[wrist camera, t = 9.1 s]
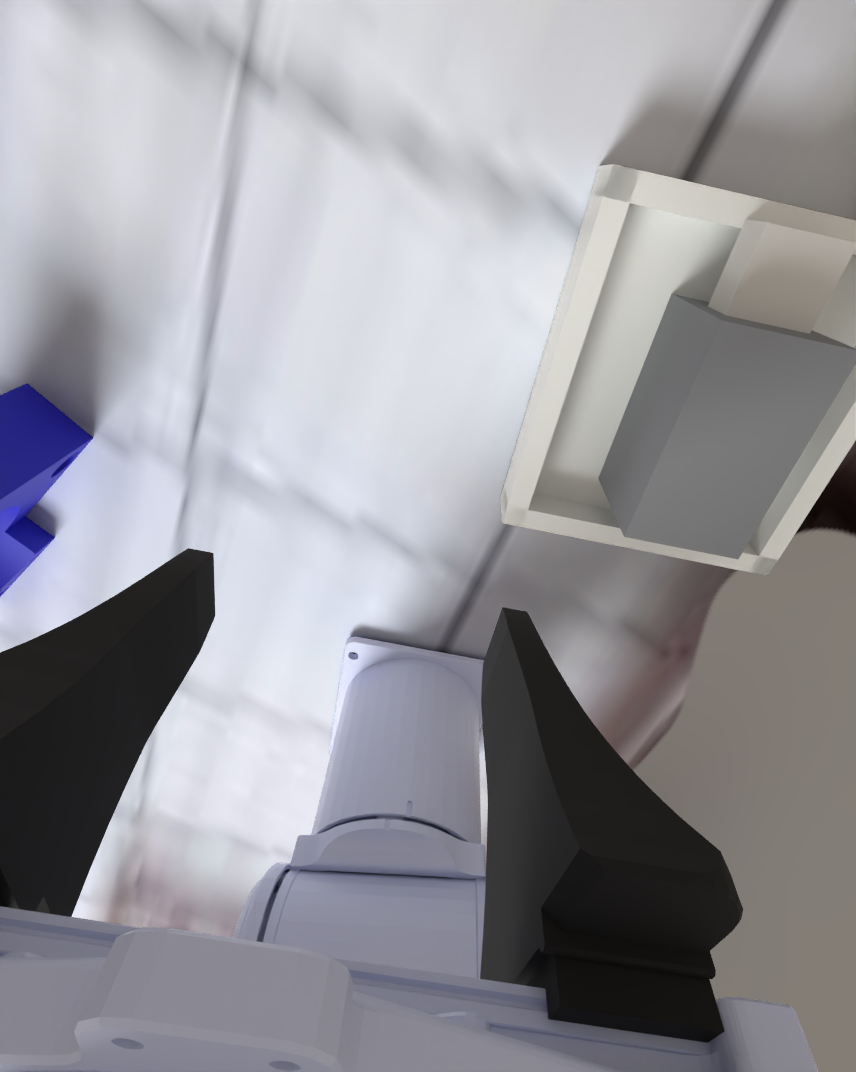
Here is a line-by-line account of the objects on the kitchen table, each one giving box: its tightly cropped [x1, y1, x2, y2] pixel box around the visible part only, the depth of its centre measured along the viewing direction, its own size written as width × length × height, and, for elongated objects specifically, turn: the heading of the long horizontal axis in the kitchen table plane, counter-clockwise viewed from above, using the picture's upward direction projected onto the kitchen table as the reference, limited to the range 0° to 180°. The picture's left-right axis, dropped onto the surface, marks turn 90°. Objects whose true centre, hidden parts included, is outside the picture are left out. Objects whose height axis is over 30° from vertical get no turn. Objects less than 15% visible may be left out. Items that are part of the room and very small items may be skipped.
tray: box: [500, 164, 856, 576], centre depth 20 cm, size 12×11×2 cm
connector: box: [598, 220, 856, 559], centre depth 18 cm, size 9×4×4 cm, turn 169°
